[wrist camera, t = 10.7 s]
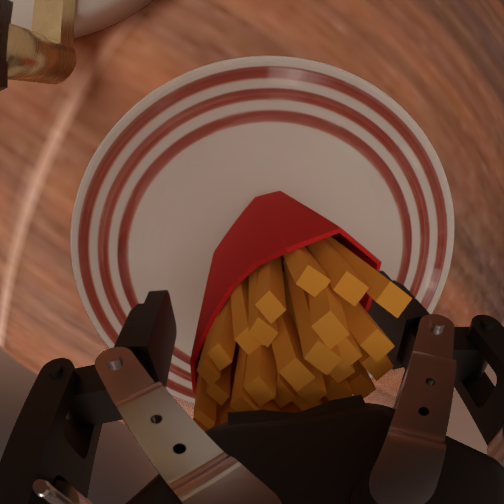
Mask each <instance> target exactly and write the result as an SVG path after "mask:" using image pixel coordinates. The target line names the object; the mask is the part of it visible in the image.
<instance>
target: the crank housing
mask: <svg viewBox="0 0 504 504" xmlns="http://www.w3.org/2000/svg"><path fill="white" fill-rule="evenodd" d="M9 1H12V2H14V3H13V10H12V17H11V24H14V25H17V26H20V27H23V28H26V29H29V30H32V19H33V9H34V2H35V0H9ZM151 1H153V0H76V3H75V18H74V38H78V37H82V36H85V35H89V34H92V33H94V32H97V31H100V30H103V29H105V28H107V27H109V26H111V25H113V24H116V23H118V22H120V21H121V20H123V19H125V18H127V17H129V16H131V15H132V14H134V13H135V12H137V11H138V10H140V9H142V8H143V7H145V6H146V5H147V4H149V3H150V2H151Z"/></svg>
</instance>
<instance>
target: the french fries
mask: <svg viewBox="0 0 504 504" xmlns="http://www.w3.org/2000/svg"><path fill="white" fill-rule="evenodd" d="M381 263H382V262H381V261H380V260H379V259H377V258H376V257H375V256H374V255H373V254H372V253H371V252H369V251H368V250H367V249H366V248H365V247H363V246H362V245H361V244H360V243H359V242H358V241H356V240H355V239H354V238H353V237H352V236H350V235H349V234H348V233H347V232H346V231H344V230H343V229H342V228H341V227H339V226H338V225H336V224H334V223H333V222H331V221H330V220H328V219H326V218H325V217H323V216H322V215H320V214H318V213H317V212H315V211H313V210H312V209H310V208H308V207H307V206H305V205H304V204H302V203H300V202H299V201H297V200H295V199H294V198H292V197H290V196H288V195H287V194H285V193H283V192H282V191H276V192H272V193H268V194H265V195H261V196H257V197H255V198H254V199H253V200H252V201H251V202H250V204H249V205H248V206H247V207H246V208H245V210H244V211H243V212H242V213H241V215H240V216H239V217H238V218H237V220H236V221H235V222H234V224H233V225H232V226H231V228H230V229H229V231H228V232H227V233H226V235H225V236H224V238H223V239H222V240H221V242H220V243H219V245H218V246H217V248H216V249H215V251H214V253H213V257H212V262H211V266H210V271H209V275H208V279H207V284H206V288H205V293H204V297H203V302H202V306H201V311H200V316H199V320H198V325H197V330H196V335H195V340H194V344H193V349H192V354H191V359H190V367H191V379H192V390H193V393H195V394H196V396H195V406H194V418H193V420H194V421H195V422H196V424H197V425H198V426H199V427H200V428H201V429H202V430H203V431H204V432H205V431H206V430H208V429H210V428H212V427H214V426H216V425H219V424H222V423H225V422H228V412H241V411H253V410H269V411H281V412H301V411H304V410H307V409H310V408H312V407H315V406H318V405H320V404H323V403H325V402H328V401H330V400H335V399H341V398H346V397H351V396H352V394H353V395H354V396H356V395H360V394H361V395H362V397H363V398H365V397H366V396H367V395H369V394H370V393H372V392H373V391H374V390H376V388H375V386H374V384H373V382H372V380H371V378H370V376H369V374H368V372H369V373H370V374H371V375H372V376H373V377H374V378H375V379H376V380H378V379H379V378H381V377H382V376H383V375H384V374H386V373H387V372H388V371H389V370H390V369H392V368H393V367H394V366H393V365H392V363H391V361H390V360H389V358H388V356H387V355H386V354H387V353H388V352H389V351H390V350H391V349H393V348H394V347H395V346H394V344H393V343H392V342H391V341H390V340H389V338H388V337H387V336H386V335H385V333H384V332H383V331H382V330H381V328H380V327H379V326H378V325H377V324H376V322H375V321H374V320H373V319H372V318H371V316H370V315H369V314H368V313H367V311H368V310H369V309H370V306H371V302H372V299H373V300H374V301H375V302H377V303H378V304H379V305H381V306H382V307H383V308H385V309H386V310H387V311H388V312H390V313H391V314H392V315H394V316H395V317H396V318H398V317H399V316H400V314H401V313H402V312H403V310H404V309H405V308H406V306H407V305H408V304H409V302H410V301H411V300H412V298H411V297H410V296H409V295H408V294H406V293H405V292H404V291H403V290H401V289H400V288H399V287H397V286H396V285H395V284H394V283H392V282H391V281H390V280H388V279H387V278H386V277H385V276H383V275H382V274H381V273H379V271H380V267H381ZM367 371H368V372H367Z"/></svg>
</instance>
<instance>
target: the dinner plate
mask: <svg viewBox="0 0 504 504" xmlns="http://www.w3.org/2000/svg"><path fill="white" fill-rule="evenodd" d="M276 191H282V192H283V193H285V194H287V195H288V196H290V197H292V198H294V199H295V200H297V201H299V202H300V203H302V204H304V205H305V206H307V207H308V208H310V209H312V210H313V211H315V212H317V213H318V214H320V215H322V216H323V217H325V218H326V219H328V220H330V221H331V222H333V223H334V224H336V225H338V226H339V227H341V228H342V229H343V230H344V231H346V232H347V233H348V234H349V235H350V236H352V237H353V238H354V239H355V240H356V241H358V242H359V243H360V244H361V245H362V246H363V247H365V248H366V249H367V250H368V251H369V252H371V253H372V254H373V255H374V256H375V257H376V258H377V259H379V260H380V261H381V262H382V263H381V267H380V271H381V270H382V271H384V272H385V273H386V274H387V275H388V276H389V277H390V279H391V280H392V281H393V280H395V281H397V282H399V283H400V284H402V285H404V286H405V287H406V288H407V289H408V290H409V291H410V294H412V295H413V296H414V297H415V299H417V300H418V301H419V302H420V303H421V304H422V306H423V307H424V308H425V309H426V310H427V311H428V312H429V313H430V314H432V312H433V310H434V308H435V306H436V304H437V302H438V300H439V298H440V296H441V293H442V291H443V288H444V285H445V282H446V279H447V276H448V272H449V268H450V264H451V258H452V252H453V245H454V211H453V203H452V198H451V193H450V189H449V185H448V182H447V178H446V175H445V172H444V170H443V167H442V164H441V162H440V160H439V158H438V155H437V154H436V152H435V150H434V148H433V146H432V145H431V143H430V141H429V140H428V138H427V137H426V135H425V133H424V132H423V131H422V129H421V128H420V127H419V126H418V124H417V123H416V122H415V121H414V120H413V119H412V117H411V116H410V115H409V114H408V113H407V112H406V111H405V110H404V109H403V108H402V107H401V106H400V105H399V104H398V103H397V102H396V101H394V100H393V99H392V98H391V97H389V96H388V95H387V94H386V93H384V92H383V91H381V90H380V89H378V88H377V87H376V86H374V85H373V84H371V83H369V82H367V81H365V80H364V79H362V78H360V77H357V76H355V75H353V74H351V73H349V72H347V71H345V70H342V69H340V68H337V67H334V66H331V65H328V64H325V63H321V62H317V61H312V60H308V59H302V58H296V57H285V56H251V57H241V58H235V59H229V60H224V61H219V62H215V63H212V64H209V65H205V66H202V67H200V68H197V69H194V70H192V71H189V72H187V73H184V74H182V75H180V76H178V77H176V78H174V79H172V80H170V81H169V82H167V83H165V84H164V85H162V86H160V87H159V88H157V89H155V90H154V91H152V92H151V93H149V94H148V95H147V96H145V97H144V98H143V99H142V100H140V101H139V102H138V103H137V104H135V105H134V106H133V107H132V108H131V109H130V110H129V111H128V112H127V113H126V114H125V115H124V116H123V117H122V118H121V119H120V120H119V121H118V122H117V123H116V124H115V125H114V126H113V128H112V129H111V130H110V131H109V133H108V134H107V135H106V137H105V138H104V139H103V141H102V142H101V144H100V145H99V147H98V148H97V150H96V152H95V153H94V155H93V157H92V159H91V161H90V162H89V164H88V166H87V169H86V171H85V173H84V176H83V178H82V181H81V183H80V186H79V190H78V193H77V196H76V200H75V204H74V209H73V214H72V222H71V237H70V245H71V259H72V268H73V273H74V277H75V281H76V285H77V288H78V291H79V295H80V298H81V300H82V303H83V305H84V308H85V310H86V312H87V314H88V316H89V318H90V320H91V321H92V323H93V325H94V326H95V328H96V330H97V331H98V333H99V334H100V336H101V337H102V339H103V340H104V341H105V343H106V344H107V345H108V346H109V348H113V347H114V345H115V343H116V341H117V338H118V336H119V334H120V332H121V329H122V327H124V326H123V325H124V323H125V321H126V319H127V316H128V314H129V312H130V310H132V309H133V308H134V307H135V306H136V305H137V304H140V303H144V302H145V299H146V297H147V295H148V292H149V291H157V290H168V292H169V295H170V299H171V304H172V308H173V312H174V317H175V321H176V328H177V335H176V340H175V345H174V350H173V355H172V360H171V364H170V369H169V374H168V380H167V385H166V389H167V390H168V392H169V393H170V394H171V395H173V396H175V397H178V398H180V399H183V400H186V401H188V402H191V403H195V396H196V394H195V393H193V390H192V379H191V367H190V359H191V354H192V349H193V344H194V340H195V335H196V330H197V325H198V320H199V316H200V311H201V306H202V302H203V297H204V293H205V288H206V284H207V279H208V275H209V271H210V266H211V262H212V257H213V253H214V251H215V249H216V248H217V246H218V245H219V243H220V242H221V240H222V239H223V238H224V236H225V235H226V233H227V232H228V231H229V229H230V228H231V226H232V225H233V224H234V222H235V221H236V220H237V218H238V217H239V216H240V215H241V213H242V212H243V211H244V210H245V208H246V207H247V206H248V205H249V204H250V202H251V201H252V200H253V199H254V198H255V197H257V196H261V195H265V194H268V193H272V192H276ZM367 372H368V371H367ZM368 374H369V376H370V378H372V377H373V376H372V375H371V374H370V373H369V372H368Z"/></svg>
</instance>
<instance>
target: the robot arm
mask: <svg viewBox="0 0 504 504" xmlns="http://www.w3.org/2000/svg"><path fill="white" fill-rule="evenodd" d="M379 273H381V274H382V275H383V276H385V277H386V278H387V279H388V280H390V281H391V282H392V283H394V284H395V285H396V286H397V287H399V288H400V289H401V290H403V291H404V292H405V293H406V294H408V295H409V296H410V297H411V298H412V300H411V301H410V302H409V304H408V305H407V306H406V308H405V309H404V310H403V312H402V313H401V314H400V316H399V317H398V318H396V317H395V316H394V315H392V314H391V313H390V312H388V311H387V310H386V309H385V308H383V307H382V306H381V305H379V304H378V303H377V302H375V301H374V300H373V299H372V302H371V306H370V309H369V310H368V311H367V313H368V314H369V315H370V316H371V318H372V319H373V320H374V321H375V322H376V324H377V325H378V326H379V327H380V328H381V330H382V331H383V332H384V333H385V335H386V336H387V337H388V338H389V340H390V341H391V342H392V343H393V344H394V346H395V347H394V348H393V349H391V350H390V351H389V352H388V353H387V354H386V355H387V356H388V358H389V360H390V361H391V363H392V365H393V366H394V367H393V368H392V369H397V368H402V367H404V368H405V372H404V375H403V378H402V381H401V384H400V388H399V391H398V394H397V397H396V400H395V402H394V405H393V408H390V407H387V406H384V405H379V404H371V403H365V402H364V400H363V397H362V395H361V394H360V395H356V396H351V397H346V398H341V399H335V400H330V401H328V402H325V403H323V404H320V405H318V406H315V407H312V408H310V409H307V410H304V411H301V412H281V411H269V410H253V411H241V412H228V422H225V423H222V424H219V425H216V426H214V427H212V428H210V429H208V430H206V431H205V432H204V431H203V430H202V429H201V428H200V427H199V426H198V425H197V424H196V422H195V421H194V420H193V419H192V418H191V417H190V416H189V415H188V414H187V413H186V411H185V410H184V409H183V408H182V407H181V406H180V405H179V403H178V402H177V401H176V400H175V399H174V398H173V396H172V395H171V394H170V393H169V392H168V390H167V389H166V385H167V380H168V374H169V369H170V364H171V360H172V355H173V350H174V345H175V340H176V335H177V328H176V321H175V317H174V312H173V308H172V304H171V299H170V295H169V292H168V290H157V291H149V292H148V295H147V297H146V299H145V302H144V303H140V304H137V305H136V306H135V307H134V308H133V309H132V310H130V312H129V314H128V316H127V319H126V321H125V323H124V325H123V326H124V327H122V329H121V332H120V334H119V336H118V338H117V341H116V343H115V345H114V347H113V348H110V349H107V350H105V351H103V352H102V353H101V354H100V355H99V356H98V357H97V358H96V361H95V365H91V366H86V367H81V368H76V369H75V367H74V365H73V363H72V362H71V361H70V360H69V359H66V358H58V359H54V360H52V361H50V362H48V363H47V364H45V365H44V366H43V368H42V369H41V371H40V373H39V375H38V377H37V379H36V381H35V383H34V385H33V387H32V389H31V391H30V393H29V395H28V397H27V399H26V401H25V403H24V405H23V408H22V410H21V412H20V414H19V417H18V419H17V421H16V423H15V426H14V428H13V430H12V433H11V435H10V438H9V440H8V443H7V445H6V448H5V450H4V453H3V456H2V458H1V461H0V504H92V503H91V502H90V501H89V500H88V499H87V495H88V489H89V484H90V478H91V474H92V468H93V464H94V458H95V454H96V449H97V445H98V440H99V436H100V432H101V427H102V424H103V423H107V422H112V421H117V420H122V419H123V420H124V422H125V424H126V425H127V427H128V429H129V430H130V432H131V434H132V435H133V437H134V438H135V440H136V441H137V443H138V444H139V446H140V447H141V449H142V450H143V452H144V453H145V455H146V456H147V458H148V459H149V461H150V462H151V464H152V465H153V467H154V468H155V469H156V471H157V472H158V475H157V476H156V477H155V478H154V479H153V480H152V481H150V482H149V483H148V484H147V485H146V486H145V487H144V488H143V489H142V490H140V491H139V492H138V493H137V494H136V495H135V496H134V497H133V498H132V499H131V500H129V501H128V502H127V503H126V504H504V327H503V326H502V325H501V324H500V323H499V322H498V321H497V320H496V319H494V318H493V317H490V316H487V315H477V316H475V317H474V318H473V319H472V322H471V325H470V327H454V324H453V323H452V321H451V320H449V319H448V318H446V317H444V316H442V315H438V314H430V313H429V312H428V311H427V310H426V309H425V308H424V307H423V306H422V304H421V303H420V302H419V301H418V300H417V299H415V297H414V296H413V295H412V294H410V291H409V290H408V289H407V288H406V287H405V286H404V285H402V284H400V283H399V282H397V281H395V280H393V281H392V280H391V279H390V277H389V276H388V275H387V274H386V273H385V272H384V271H382V270H381V271H379ZM487 364H489V365H490V366H491V367H492V369H493V370H494V372H495V373H496V376H497V384H496V386H494V385H493V383H492V382H491V380H490V379H489V377H488V376H487V375H486V373H485V372H484V371H485V369H486V366H487ZM454 387H455V388H456V390H457V391H458V393H459V395H460V397H461V398H462V400H463V402H464V403H465V405H466V407H467V409H468V410H469V412H470V414H471V416H472V418H473V419H474V421H475V423H476V425H477V427H478V429H479V430H480V432H481V434H482V436H483V438H484V440H485V442H486V444H487V446H488V448H487V455H486V454H483V453H482V452H479V451H477V450H475V449H473V448H471V447H469V446H467V445H464V444H463V443H460V442H458V441H456V440H454V439H452V438H450V437H448V436H446V432H447V427H448V422H449V417H450V411H451V405H452V398H453V391H454Z"/></svg>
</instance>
